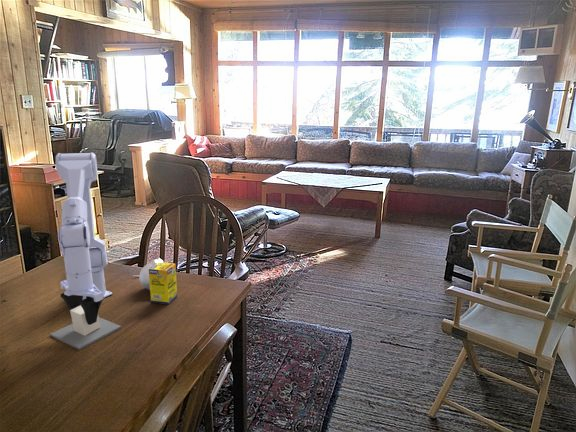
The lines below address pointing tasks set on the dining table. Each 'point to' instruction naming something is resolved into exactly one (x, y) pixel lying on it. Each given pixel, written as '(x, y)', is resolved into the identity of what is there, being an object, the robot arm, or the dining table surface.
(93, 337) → the gray mat
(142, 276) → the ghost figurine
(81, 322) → the cream block
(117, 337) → the dining table surface
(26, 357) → the dining table surface
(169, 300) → the supplement box
